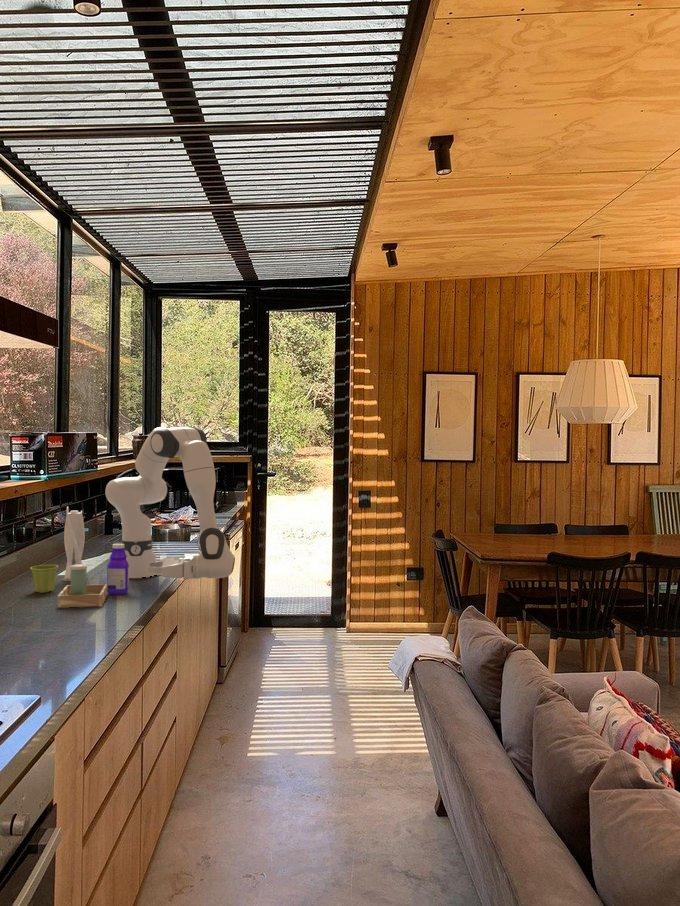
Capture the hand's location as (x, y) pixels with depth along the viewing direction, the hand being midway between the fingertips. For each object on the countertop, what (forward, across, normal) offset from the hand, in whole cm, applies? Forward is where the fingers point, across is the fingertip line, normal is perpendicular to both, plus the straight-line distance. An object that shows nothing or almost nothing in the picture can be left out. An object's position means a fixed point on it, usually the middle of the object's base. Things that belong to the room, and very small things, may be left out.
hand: (148, 567), depth 276 cm
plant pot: (+36, -8, +9) cm, 38 cm away
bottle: (+10, 0, +9) cm, 14 cm away
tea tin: (+22, +16, +8) cm, 28 cm away
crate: (+20, +12, +9) cm, 25 cm away
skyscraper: (+29, -29, +9) cm, 42 cm away
